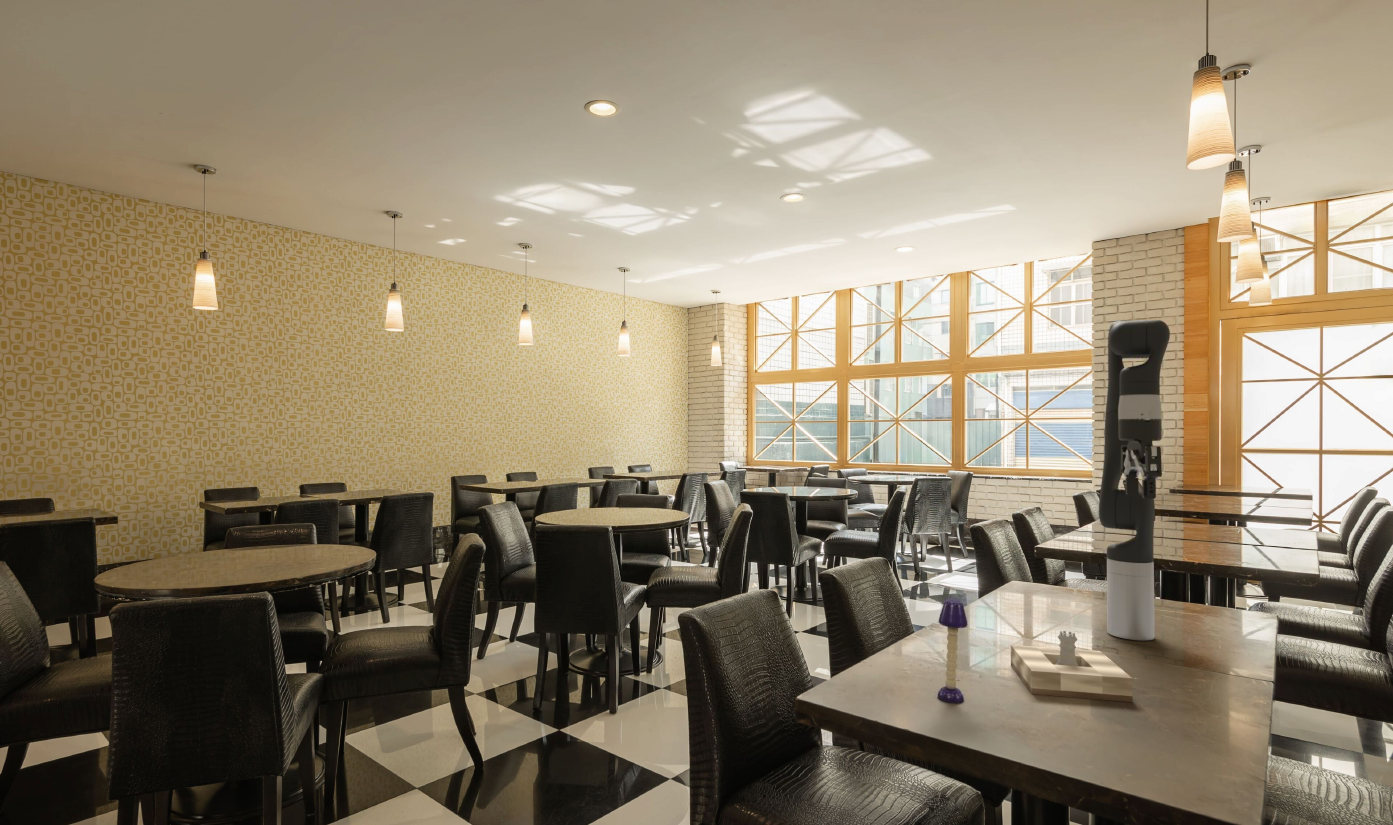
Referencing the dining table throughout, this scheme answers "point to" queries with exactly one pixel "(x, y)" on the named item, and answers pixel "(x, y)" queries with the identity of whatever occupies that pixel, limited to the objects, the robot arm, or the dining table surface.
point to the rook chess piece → (1067, 649)
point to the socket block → (1071, 674)
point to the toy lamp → (952, 647)
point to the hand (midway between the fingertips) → (1140, 496)
